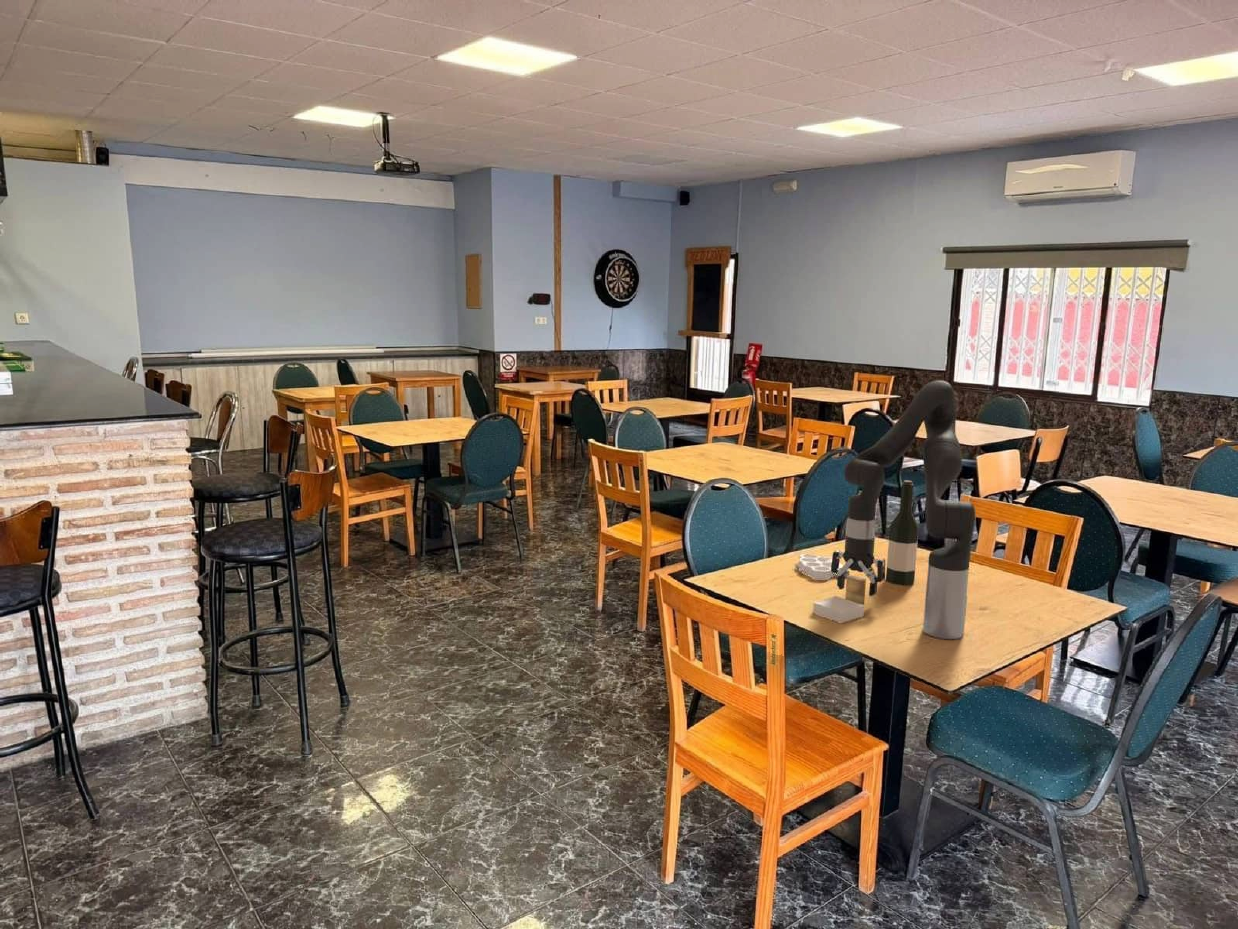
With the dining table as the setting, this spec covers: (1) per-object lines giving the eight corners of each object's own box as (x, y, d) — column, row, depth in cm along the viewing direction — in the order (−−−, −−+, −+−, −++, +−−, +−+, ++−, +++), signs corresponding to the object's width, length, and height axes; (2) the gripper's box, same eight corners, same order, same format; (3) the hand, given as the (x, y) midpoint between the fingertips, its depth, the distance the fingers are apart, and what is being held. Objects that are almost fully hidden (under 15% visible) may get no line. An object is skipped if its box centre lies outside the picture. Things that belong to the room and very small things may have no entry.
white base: (834, 606, 222) (835, 595, 222) (863, 616, 215) (864, 605, 215) (813, 613, 217) (813, 602, 216) (841, 623, 210) (842, 612, 209)
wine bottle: (919, 586, 240) (927, 484, 235) (890, 585, 240) (897, 483, 235) (909, 576, 248) (917, 478, 243) (881, 576, 248) (889, 478, 243)
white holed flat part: (852, 582, 244) (803, 582, 243) (834, 563, 262) (788, 563, 261) (853, 571, 244) (804, 571, 243) (834, 553, 261) (788, 553, 261)
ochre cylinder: (852, 599, 228) (854, 574, 227) (868, 604, 224) (869, 579, 223) (841, 602, 225) (842, 577, 224) (856, 608, 221) (858, 582, 220)
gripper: (891, 535, 220) (887, 594, 223) (840, 526, 229) (837, 583, 232) (881, 542, 214) (876, 601, 218) (829, 532, 223) (825, 590, 226)
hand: (856, 592), depth 225 cm, fingers open, 8 cm apart
